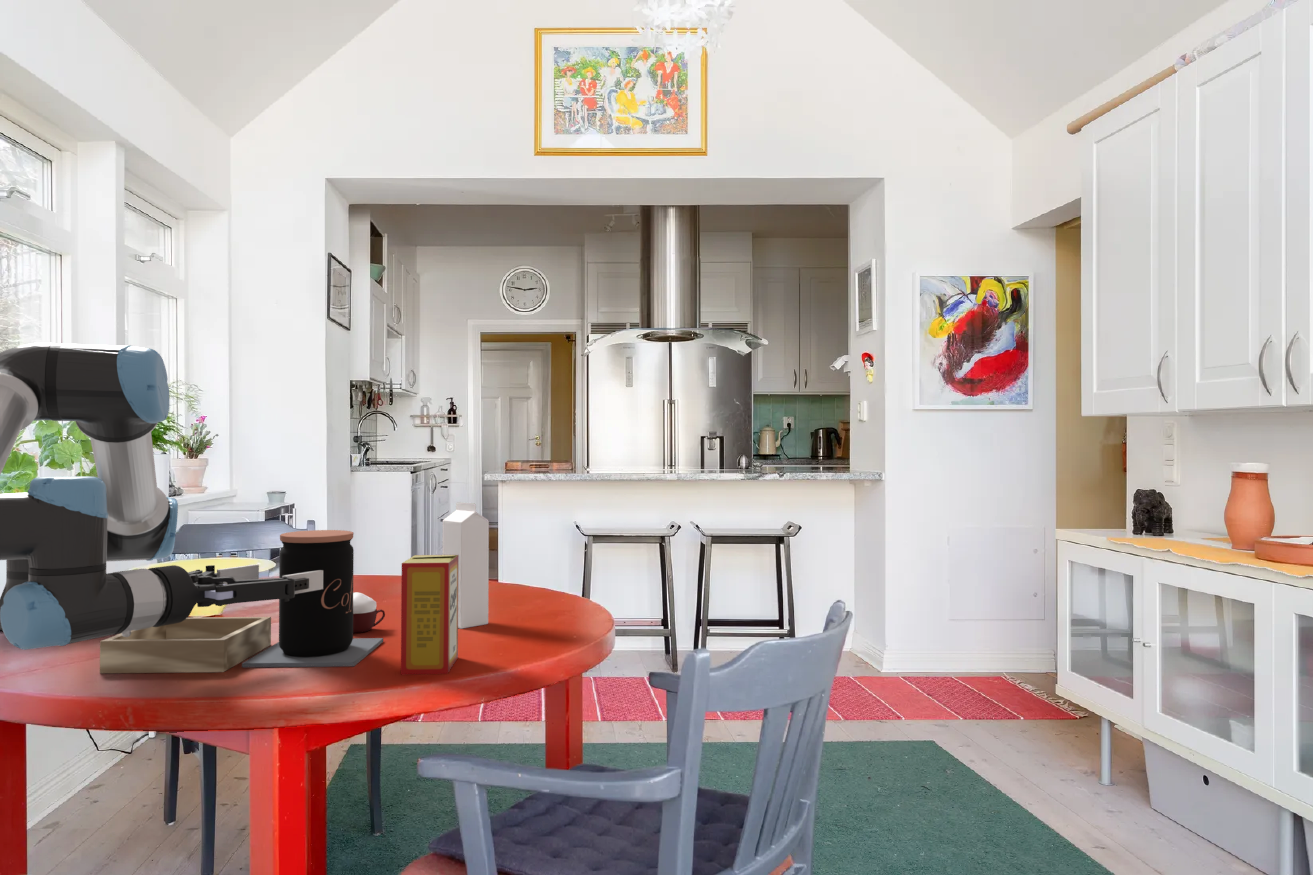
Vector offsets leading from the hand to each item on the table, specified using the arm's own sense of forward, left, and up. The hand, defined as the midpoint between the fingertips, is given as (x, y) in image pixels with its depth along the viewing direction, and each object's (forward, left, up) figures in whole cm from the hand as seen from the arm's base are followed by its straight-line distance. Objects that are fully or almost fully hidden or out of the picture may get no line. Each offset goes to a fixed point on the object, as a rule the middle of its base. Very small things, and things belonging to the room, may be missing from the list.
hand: (288, 576), depth 128 cm
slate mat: (-5, +3, -13) cm, 14 cm away
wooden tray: (-3, -15, -13) cm, 20 cm away
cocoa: (-22, +4, -13) cm, 26 cm away
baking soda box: (+3, +22, -13) cm, 25 cm away
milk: (-27, +22, -13) cm, 37 cm away
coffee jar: (-5, +3, -12) cm, 13 cm away
